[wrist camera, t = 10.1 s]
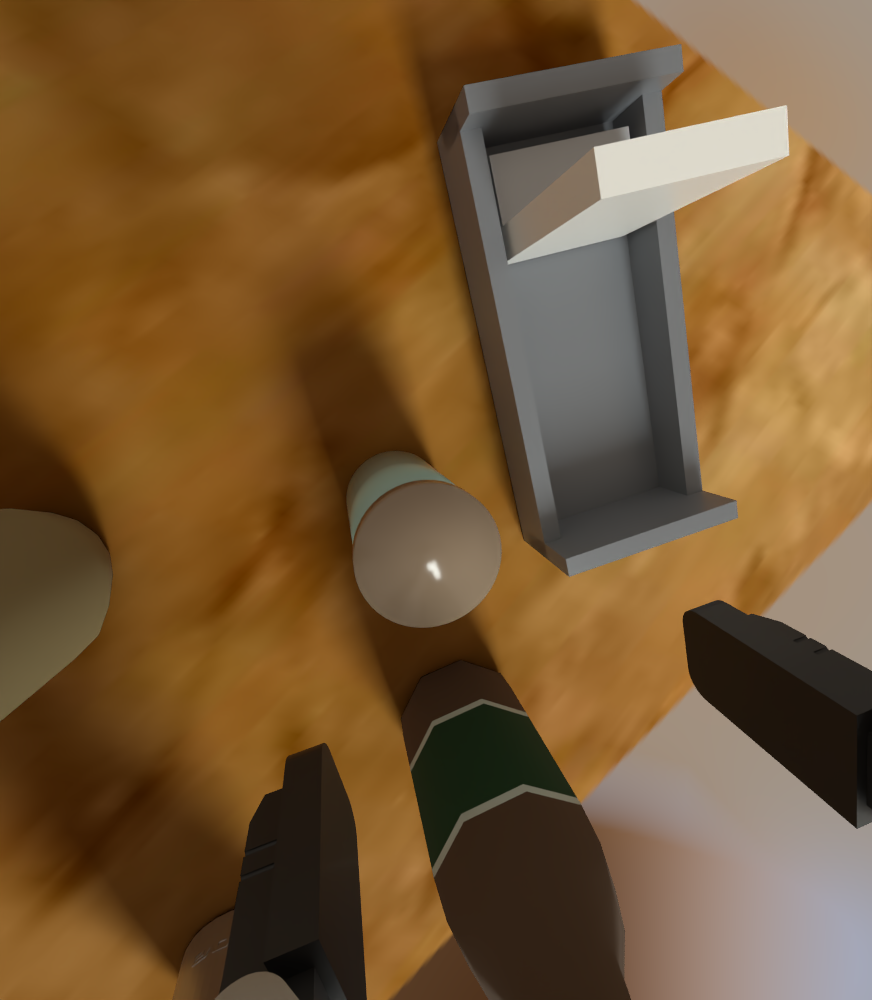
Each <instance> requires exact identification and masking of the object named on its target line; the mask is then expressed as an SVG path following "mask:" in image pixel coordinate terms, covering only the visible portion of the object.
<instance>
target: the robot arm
mask: <svg viewBox="0 0 872 1000" xmlns="http://www.w3.org/2000/svg"><path fill="white" fill-rule="evenodd" d="M683 628H684V636H685V644H686V653H687V661H688V669H689V674H690V677H691V679H692V681H693V684H694V685H695V687H696V689H697V690H698V692H699V693H700V694H701V695H702V696H703V698H705V699H706V700H707V701H708V702H709V703H710V704H711V705H712V706H714V707H715V708H716V709H717V710H718V711H720V712H721V713H722V714H723V715H724V716H725V717H727V718H728V719H729V720H730V721H731V722H733V723H734V724H735V725H736V726H737V727H738V728H739V729H741V730H742V731H743V732H744V733H745V734H746V735H748V736H749V737H750V738H751V739H752V740H753V741H755V742H756V743H757V744H758V745H759V746H760V747H762V748H763V749H764V750H765V751H766V752H768V753H769V754H770V755H771V756H772V757H774V758H775V759H776V760H777V761H778V762H780V764H782V765H783V766H784V767H785V768H786V769H788V770H789V771H790V772H791V773H792V774H793V775H795V776H796V777H797V778H798V779H799V780H800V781H801V782H803V783H804V784H805V785H806V786H807V787H808V788H810V789H811V790H812V791H814V793H816V794H817V795H818V796H819V797H820V798H822V799H823V800H824V801H825V802H826V803H827V804H828V805H830V806H831V807H832V808H833V809H834V810H836V811H837V812H838V813H839V814H840V815H841V816H843V817H844V818H845V819H846V820H847V821H848V822H849V823H851V824H852V825H853V826H854V827H855V828H857V829H858V828H860V827H862V826H864V825H867V824H869V823H871V822H872V671H871V670H869V669H867V668H865V667H863V666H862V665H860V664H858V663H856V662H854V661H852V660H850V659H849V658H847V657H845V656H843V655H841V654H839V653H838V652H836V651H834V650H828V649H827V647H826V646H825V645H823V644H821V643H819V642H817V641H815V640H813V639H811V638H809V639H808V638H807V637H806V635H804V634H802V633H801V632H799V631H797V630H795V629H793V628H791V627H789V626H788V625H786V624H784V623H782V622H779V621H776V620H772V619H769V618H765V617H762V616H758V615H754V614H750V615H747V614H745V613H743V612H741V611H740V610H738V609H736V608H734V607H733V606H731V605H729V604H727V603H725V602H723V601H720V600H717V601H713V602H711V603H708V604H705V605H702V606H700V607H697V608H694V609H691V610H689V611H686V612H685V613H684V615H683ZM240 876H241V882H239V887H238V892H237V898H236V904H235V909H234V910H233V911H230V912H228V913H226V914H224V915H222V916H220V917H218V918H216V919H215V920H213V921H212V922H210V923H209V924H208V925H206V926H205V927H203V929H202V930H201V931H200V932H199V933H198V934H197V935H196V936H195V937H194V938H193V939H192V941H191V942H190V944H189V946H188V947H187V949H186V951H185V954H184V957H183V960H182V963H181V967H180V971H179V975H178V979H177V984H176V988H175V992H174V996H173V1000H367V996H366V980H365V963H364V947H363V931H362V915H361V898H360V882H359V866H358V850H357V834H356V827H355V821H354V816H353V812H352V808H351V804H350V801H349V798H348V796H347V793H346V791H345V788H344V786H343V783H342V781H341V778H340V775H339V773H338V770H337V768H336V765H335V763H334V760H333V758H332V755H331V753H330V750H329V748H328V746H327V745H326V744H325V743H322V744H320V745H317V746H314V747H312V748H309V749H306V750H303V751H301V752H298V753H295V754H292V755H290V756H288V757H287V759H286V763H285V772H284V781H283V788H282V789H280V790H277V791H274V792H272V793H269V794H266V795H265V796H264V798H263V800H262V801H261V803H260V805H259V807H258V809H257V811H256V812H255V814H254V816H253V818H252V820H251V822H250V824H249V830H248V836H247V841H246V847H245V857H244V858H243V864H242V870H241V875H240Z"/></svg>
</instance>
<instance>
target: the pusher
mask: <svg viewBox="0 0 872 1000" xmlns="http://www.w3.org/2000/svg"><path fill="white" fill-rule="evenodd" d="M787 156H789V142H788V118H787V105H786V106H781V107H776V108H772V109H767V110H762V111H758V112H753V113H749V114H744V115H739V116H735V117H730V118H725V119H721V120H716V121H712V122H707V123H702V124H698V125H693V126H689V127H684V128H679V129H675V130H670V131H665V132H661V133H656V134H652V135H647V136H642V137H638V138H633V139H630V134H629V126H627V127H622V128H617V129H613V130H608V131H603V132H599V133H594V134H589V135H585V136H580V137H575V138H570V139H566V140H561V141H556V142H552V143H547V144H542V145H537V146H533V147H528V148H523V149H519V150H514V151H509V152H504V153H500V154H495V155H490V156H489V157H488V158H487V159H488V164H489V169H490V174H491V180H492V185H493V190H494V195H495V200H496V205H497V210H498V216H499V221H500V226H501V231H502V236H503V241H504V246H505V252H506V257H507V262H508V264H512V263H517V262H521V261H525V260H529V259H533V258H537V257H541V256H545V255H549V254H553V253H557V252H561V251H565V250H569V249H573V248H577V247H581V246H585V245H589V244H593V243H598V242H602V241H606V240H610V239H614V238H618V237H622V236H624V235H626V234H628V233H630V232H633V231H635V230H637V229H639V228H641V227H643V226H645V225H647V224H649V223H651V222H653V221H655V220H657V219H659V218H661V217H663V216H665V215H667V214H670V213H672V212H674V211H676V210H678V209H680V208H682V207H684V206H686V205H688V204H690V203H692V202H694V201H696V200H698V199H700V198H702V197H705V196H707V195H709V194H711V193H713V192H715V191H717V190H719V189H721V188H723V187H725V186H727V185H729V184H731V183H733V182H735V181H737V180H739V179H742V178H744V177H746V176H748V175H750V174H752V173H754V172H756V171H758V170H760V169H762V168H764V167H766V166H768V165H770V164H772V163H774V162H776V161H779V160H781V159H783V158H785V157H787Z"/></svg>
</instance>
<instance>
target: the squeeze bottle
mask: <svg viewBox="0 0 872 1000" xmlns="http://www.w3.org/2000/svg"><path fill="white" fill-rule="evenodd" d="M112 577H113V573H112V566H111V559H110V553H109V552H108V550H107V549H106V547H105V546H104V544H103V543H102V541H101V540H100V538H99V536H98V535H97V534H96V533H94V532H93V531H91V530H90V529H89V528H87V527H86V526H84V525H83V524H82V523H80V522H79V521H78V520H75V519H71V518H68V517H65V516H61V515H58V514H55V513H50V512H40V511H30V510H21V509H0V721H1V720H3V719H4V718H5V717H6V716H7V715H9V714H10V713H11V712H12V711H13V710H15V709H16V708H17V707H18V706H19V705H21V704H22V703H23V702H24V701H25V700H27V699H28V698H29V697H30V696H31V695H32V694H34V693H35V692H36V691H37V690H38V689H40V688H41V687H42V686H43V685H44V684H46V683H47V682H48V681H49V680H50V679H52V678H53V677H54V676H55V675H56V674H57V673H59V672H60V671H61V670H62V669H63V668H65V667H66V666H67V665H68V664H69V663H71V662H72V661H73V660H74V659H75V658H76V657H77V656H78V655H79V654H80V653H81V652H82V651H83V650H84V649H85V648H86V647H87V646H88V645H89V644H90V643H91V642H92V641H93V640H94V639H95V638H96V637H97V636H98V635H99V633H100V630H101V627H102V624H103V621H104V618H105V615H106V612H107V609H108V607H109V601H110V593H111V585H112Z"/></svg>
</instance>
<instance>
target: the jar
mask: <svg viewBox="0 0 872 1000" xmlns="http://www.w3.org/2000/svg"><path fill="white" fill-rule="evenodd" d="M346 504H347V512H348V518H349V524H350V531H351V537H352V543H353V546H352V558H353V566H354V573H355V577H356V581H357V584H358V587H359V589H360V591H361V593H362V595H363V596H364V598H365V600H366V601H367V602H368V603H369V605H370V606H371V607H372V608H373V609H374V610H375V611H377V612H378V613H379V614H380V615H382V616H383V617H385V618H387V619H389V620H390V621H392V622H395V623H398V624H401V625H404V626H409V627H418V628H426V627H435V626H440V625H444V624H447V623H450V622H452V621H455V620H457V619H459V618H461V617H462V616H464V615H466V614H467V613H469V612H470V611H471V610H473V609H474V608H475V607H476V606H477V605H478V604H479V603H480V602H481V601H482V600H483V599H484V598H485V596H486V595H487V594H488V592H489V591H490V589H491V587H492V585H493V584H494V582H495V580H496V577H497V574H498V571H499V567H500V563H501V554H502V553H501V540H500V535H499V531H498V528H497V526H496V523H495V521H494V519H493V518H492V516H491V515H490V513H489V511H488V510H487V509H486V508H485V507H484V506H483V505H482V504H481V503H480V502H479V501H478V500H477V499H476V498H474V497H473V496H472V495H470V494H469V493H468V492H466V491H465V490H463V489H462V488H460V487H458V486H456V485H454V484H453V483H452V482H451V481H449V480H448V479H447V478H446V477H444V476H443V475H442V474H441V473H439V472H438V471H437V470H436V469H435V468H433V467H432V466H431V465H430V464H428V463H427V462H426V461H425V460H423V459H422V458H420V457H419V456H416V455H414V454H412V453H408V452H403V451H388V452H383V453H380V454H377V455H375V456H373V457H371V458H369V459H368V460H366V461H365V462H364V463H363V464H362V465H361V466H359V468H358V469H357V470H356V471H355V473H354V474H353V476H352V478H351V480H350V482H349V485H348V488H347V494H346Z"/></svg>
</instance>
